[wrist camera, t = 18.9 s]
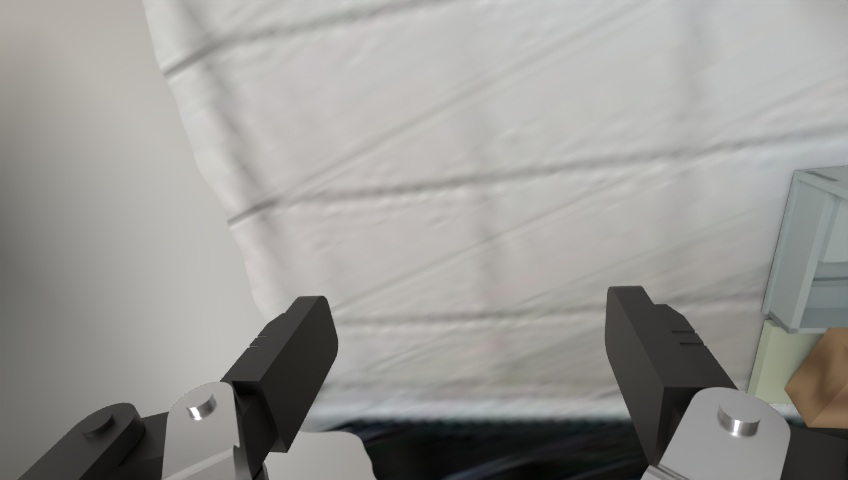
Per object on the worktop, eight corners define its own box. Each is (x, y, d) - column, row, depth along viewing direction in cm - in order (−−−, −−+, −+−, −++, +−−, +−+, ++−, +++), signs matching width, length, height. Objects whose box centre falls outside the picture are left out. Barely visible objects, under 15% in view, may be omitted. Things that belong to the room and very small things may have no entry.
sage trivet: (765, 319, 40) (772, 327, 39) (885, 316, 38) (896, 324, 37) (746, 394, 44) (753, 403, 43) (854, 395, 42) (864, 404, 41)
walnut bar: (829, 327, 35) (862, 366, 32) (890, 327, 35) (930, 367, 31) (783, 388, 41) (807, 426, 38) (834, 390, 41) (863, 428, 38)
